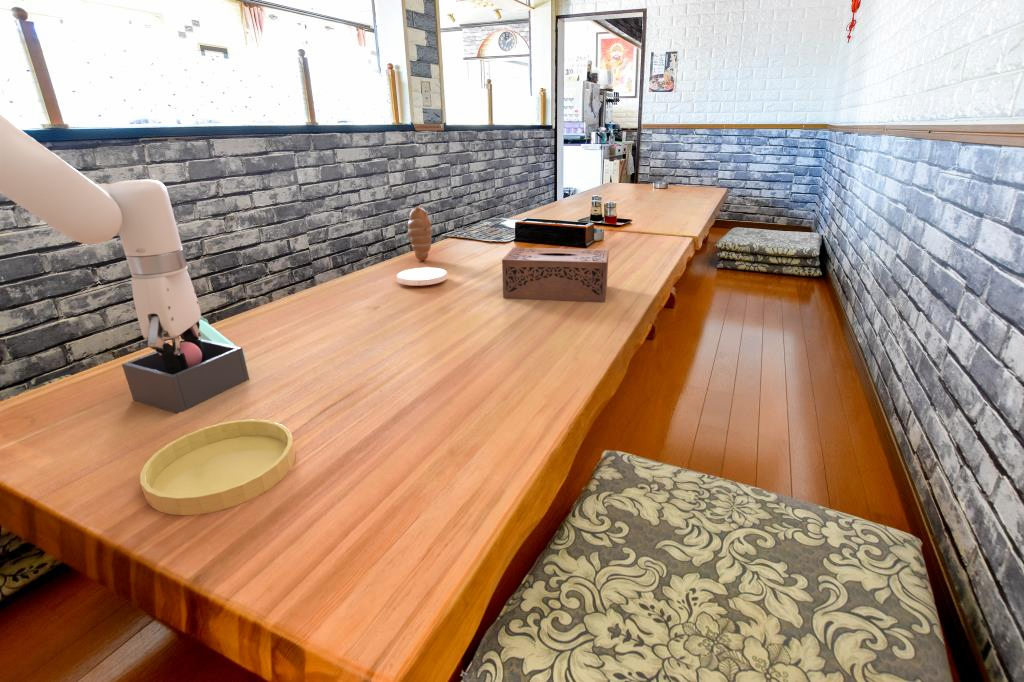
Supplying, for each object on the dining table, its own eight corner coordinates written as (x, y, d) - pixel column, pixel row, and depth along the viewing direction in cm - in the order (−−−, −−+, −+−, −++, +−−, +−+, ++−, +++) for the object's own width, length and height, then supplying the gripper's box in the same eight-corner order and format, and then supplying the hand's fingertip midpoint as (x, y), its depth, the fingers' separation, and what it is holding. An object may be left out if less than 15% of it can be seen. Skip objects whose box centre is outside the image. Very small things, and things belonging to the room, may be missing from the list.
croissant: (430, 264, 171) (426, 207, 165) (407, 263, 172) (401, 207, 165) (437, 257, 180) (433, 203, 173) (414, 257, 180) (409, 203, 174)
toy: (184, 378, 86) (176, 350, 84) (164, 373, 88) (156, 346, 86) (211, 366, 90) (204, 339, 88) (192, 362, 92) (185, 335, 90)
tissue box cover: (503, 297, 136) (502, 259, 132) (514, 282, 149) (513, 247, 145) (604, 302, 131) (606, 262, 127) (606, 285, 144) (608, 249, 140)
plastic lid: (406, 291, 143) (405, 282, 142) (391, 280, 154) (391, 271, 153) (454, 284, 149) (454, 275, 148) (437, 273, 160) (436, 265, 159)
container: (239, 341, 96) (197, 308, 112) (210, 361, 93) (171, 325, 110) (258, 364, 99) (215, 330, 116) (230, 385, 97) (189, 346, 113)
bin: (182, 415, 83) (171, 377, 80) (133, 400, 88) (121, 364, 85) (250, 382, 93) (242, 347, 91) (202, 370, 98) (193, 337, 96)
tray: (210, 536, 58) (203, 514, 57) (115, 495, 65) (108, 475, 64) (324, 453, 72) (320, 434, 71) (236, 427, 79) (232, 409, 78)
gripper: (161, 252, 90) (189, 350, 97) (97, 278, 74) (135, 394, 81) (207, 250, 90) (231, 348, 97) (153, 276, 75) (186, 391, 82)
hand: (187, 367), depth 89 cm, fingers closed on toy, 4 cm apart
